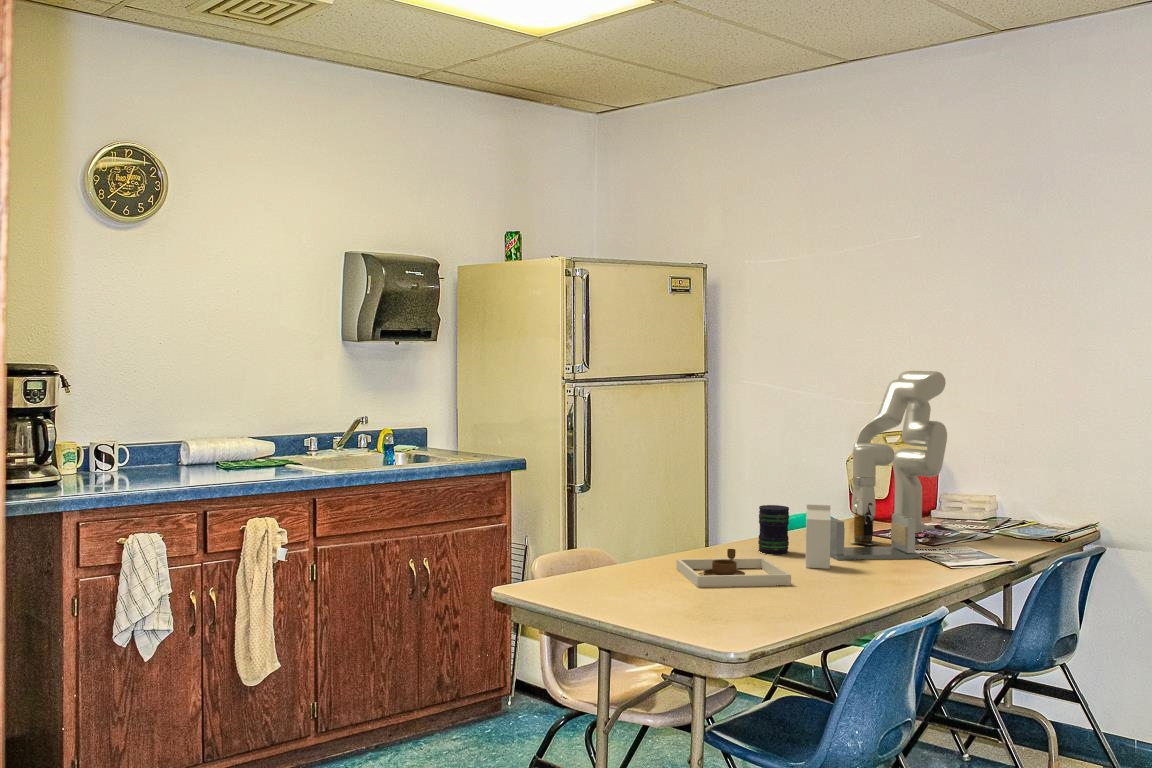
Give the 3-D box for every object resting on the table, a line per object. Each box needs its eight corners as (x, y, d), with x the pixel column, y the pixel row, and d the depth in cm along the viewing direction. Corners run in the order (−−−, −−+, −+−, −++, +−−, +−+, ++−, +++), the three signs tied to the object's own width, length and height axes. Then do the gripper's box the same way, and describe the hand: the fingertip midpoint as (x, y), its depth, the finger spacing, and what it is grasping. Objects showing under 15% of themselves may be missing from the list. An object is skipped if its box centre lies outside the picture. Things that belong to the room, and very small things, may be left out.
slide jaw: (909, 545, 352) (910, 513, 352) (926, 552, 341) (927, 519, 340) (889, 546, 351) (890, 513, 351) (905, 552, 340) (906, 519, 339)
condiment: (861, 539, 370) (861, 505, 370) (881, 543, 364) (881, 508, 363) (848, 542, 366) (848, 507, 365) (869, 545, 359) (869, 510, 358)
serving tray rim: (763, 567, 322) (763, 557, 322) (791, 585, 297) (791, 574, 297) (676, 569, 318) (676, 559, 318) (697, 587, 294) (697, 576, 294)
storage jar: (794, 554, 345) (795, 508, 345) (768, 556, 342) (769, 509, 341) (777, 548, 354) (778, 504, 354) (752, 550, 351) (753, 505, 350)
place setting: (686, 576, 307) (687, 556, 307) (728, 567, 321) (729, 548, 321) (735, 586, 294) (735, 565, 294) (777, 576, 308) (777, 556, 308)
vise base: (901, 550, 353) (901, 515, 353) (920, 558, 339) (921, 521, 339) (821, 552, 349) (821, 515, 349) (837, 560, 335) (837, 522, 335)
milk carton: (829, 569, 321) (830, 506, 320) (805, 568, 322) (806, 506, 322) (828, 564, 328) (830, 503, 327) (805, 563, 329) (806, 502, 329)
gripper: (844, 478, 373) (843, 529, 373) (864, 485, 355) (863, 538, 356) (864, 478, 374) (864, 528, 374) (885, 484, 356) (885, 537, 357)
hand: (864, 533), depth 365 cm, fingers closed on condiment, 6 cm apart
